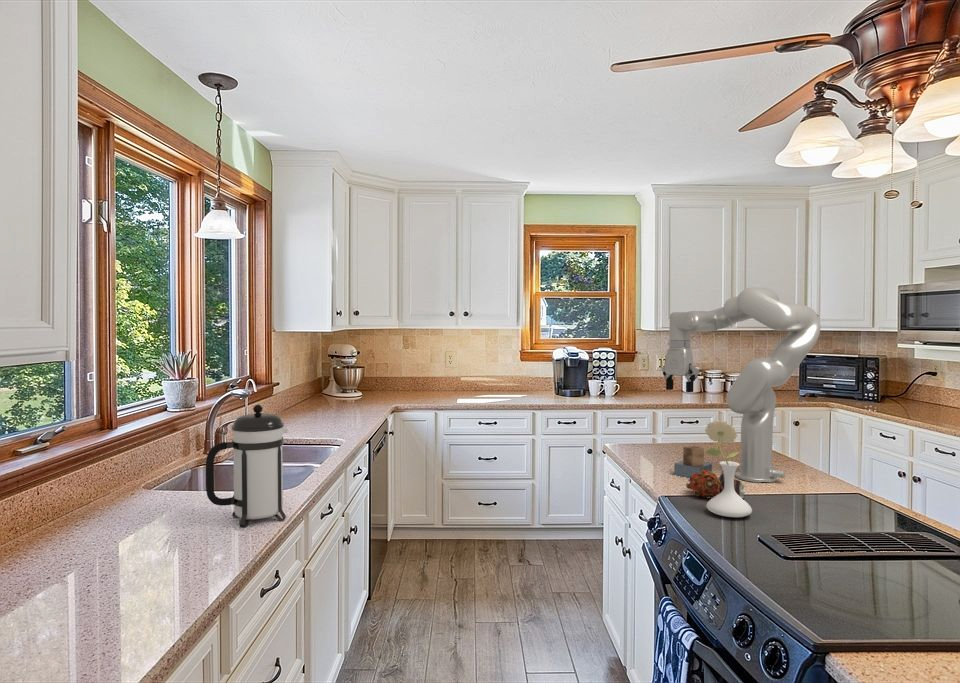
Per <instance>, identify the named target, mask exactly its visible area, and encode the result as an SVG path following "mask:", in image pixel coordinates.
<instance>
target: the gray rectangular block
mask: <svg viewBox="0 0 960 683" xmlns="http://www.w3.org/2000/svg"><path fill="white" fill-rule="evenodd" d="M673 466H674V467H673V468H674V472H673V475H676V476H675V477H679V476H680V478H684V477H686V479H689V478H690V477H691V476H692V475H693V474H695V473H700V472H701V471H702V470H706V471H711V472H713V463H711V462H705V461H704V465H695V466H692V465H689V464H686V463H683V460H681V461H678V462H677V461H676V462H675V463H674V465H673Z"/></svg>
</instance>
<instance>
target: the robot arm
mask: <svg viewBox="0 0 960 683" xmlns="http://www.w3.org/2000/svg"><path fill="white" fill-rule="evenodd" d="M750 319H753V320H755V321H757V322H759V323H760V324H762V325H764V326H766V327H768V328H769V329H771V330H774V331H778V332H788V333H787V334H786V336H784V337H783V338H782V339H781V340H780V341H779V342H778V344H777V345H776V346H775V348H774V349H773V351H772V352H771V353H770V354H769V355H768V356H766V357H759V358H755V359H752V360H751V361H749V362H748V363H747V364H746V365H745V367H743V369H742V370H741V372H740V373H739V375H738V376H737V378H736V379H735V381H734V382H733V383H732V385H731V386H730V388H729V390H728V391H727V395H726V404H727V406H728V408H729V409H730V410H731V411H732V412H734V413H735V414H739V415H742V417H741V421H740V422H741V423H740V470H738V471H737V470H736V471H735V475H734V477H736V478H737V479H738V480H742V481H747V482H750V483H751V482H752V483H761V482H769V483H775V482H777V480H778V478H782V479H785V478H786V472H785V471H784V470H777V469H776V465H775V464H774V465H773V433H774V431H773V429H774V428H773V427H774V425H773V424H774V417H775V416H774V415H775V409H776V404H777V396H776V392H775V391H774V389H773V388H775V387H776V388H777V387H781V386H783V385H785V384H786V383H787V382H788V381H789V380H790V379H791V377H792V376H793V374H794V373H795V371H796V370H797V369H798V368H799V366H800V364H801V363H802V362H803V360H804V359H805V358H806V356H807V355H808V353H809V352H810V351H811V350H812V348H813V347H814V346H815V344H816V343H817V341H818V339H819V336H820V334H821V321H820V318H819V316H818V314H817V312H816V311H815V310H814V309H813V308H812V307H810V306H808V305H805V304H800V303H783V302H781V301H780V297H779V295H778V293H777V292H776V291H774V290H773V289H771V288H767V287H753V286H752V287H747V288H745V289H743V290H742V291H740V293H739V294H738V296H734V297H731V298H728V299H727V300H725V302H724V304H723V306H722V307H719V308H716V309H712V310H708V311H706V310H692V311H674V312H671V313H670V314H669V333H668V334H669V337H668V338H669V339H668V340H669V341H668V342H667V345H668V346H669V347H668V348H667V351H666V354H665V364H664V365H663V366H661V368H660V369H661V372H662V375H663V376H664V379H665V390H666V391H671V390H672V391H673V390H674V376H675V377H677V376H678V377H684V378H685V379H686V380H687V381H685V392H686V393H694V385H695V384H694V382H695V381H696V380H697V378H698V376H699V373H700V370H699V369H698V368H697V367H695V365H694V357H693V350H692V349H691V341H692V340H691V336H692V334H691V333H699V332H700V333H701V332H703V333H704V332H706V333H707V332H713V331H714V332H715V331H717V330H722V329H725V328H729V327H731V326H733V325H736V324H737V323H739V322H743V321H747V320H750Z"/></svg>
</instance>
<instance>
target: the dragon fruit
mask: <svg viewBox="0 0 960 683" xmlns="http://www.w3.org/2000/svg"><path fill="white" fill-rule="evenodd" d="M687 480H688V483H686V485H685V486H686V488H687V489H690V490H692V491H693V492H694V495H695V496H696V497H697V496H701V497H703V498H705V497H706V498H705V499H708V498H707V497H710V498H711V497H712V498H713V497H715V496H717V495H718V494H719V493H720V491H722V490H723V488H722V483H721V482H720V480H719V477H718V475H717V474H715V473H714V472H713V471H712V472H711V471H706V470H702V471H701V472H700V473H695V474H693V475H692V476H691V477H690V479H689V478H688V479H687ZM712 498H711V499H712Z"/></svg>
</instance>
